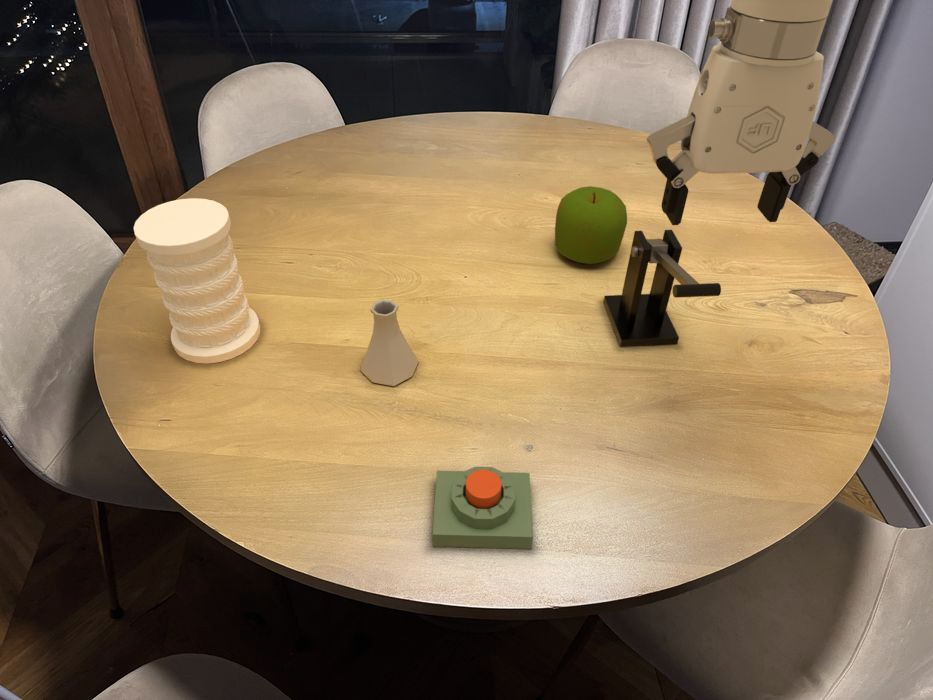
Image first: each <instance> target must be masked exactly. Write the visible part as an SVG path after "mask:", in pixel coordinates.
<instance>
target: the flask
mask: <svg viewBox="0 0 933 700" xmlns="http://www.w3.org/2000/svg"><path fill="white" fill-rule="evenodd" d="M398 310H399V304H397V303H396V302H395V301H393V300H391V299H384V298H381V299H380V300H377V301H375V302H374V303H372V305H371V307H370V309H369V311H370V313H371V314H372V315H373V328H372V334H371V336H370V337H371V338H370V340H369V344H368V346H367V349H366V353H365V355H364V358H363V361H362V364H361V366H360V369H359V370H360V371H361V373H362V374H364V376H366V378H367V379H368V380H369V381H370V382H372V383H375V384H381V385H386V386H391V387H395V386H397V385H399V384H400V383H402V382H404V381H406V380H409V379H411V378H412V377H413V376H414V374H415V371H416V369H417V368H418V367H417V366H418V364H419V362H420V361H419V359H418V358H417V356H416V354H415V353H414V351H413V350H412V348H411V346H410V345H409V343H408V341H407V339H406V337H405V336H404V334H403V332H402V330H401V327H400V325H399V322H398V317H397V316H398V315H397V312H398Z"/></svg>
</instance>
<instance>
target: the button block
mask: <svg viewBox="0 0 933 700" xmlns="http://www.w3.org/2000/svg"><path fill="white" fill-rule="evenodd" d="M477 470H489V471H492V472H494V473H495V474H497V475H498V476H499V478H500V480H501V484H502V485H501V497H500V500H499V501H498V503H497V504H496V505H494V506H492V507H490V508H477V507H475V506H473V505H472V504H470V503H469V501H468V500H467V498H466V480H467V478H468V476H469V475H470V474H471V473H473V472H475V471H477ZM434 492H435V493H434V495H435V496H434V506H433V508H434V509H433V520H432V547H443V548H479V549H480V548H481V549H482V548H483V549H515V550H516V549H518V550H519V549H522V550H524V549H525V550H531V549H532V548H533V547H532V546H533V541H534V533H533V532H534V530H533V517H532V516H533V512H532V497H531V496H532V495H531V480H530V472H515V471H513V472H510V471H508V472H507V471H501V470H499V469H497V468H495V467H493V466H473V467H471V468H469V469H466V470H436V479H435V491H434Z"/></svg>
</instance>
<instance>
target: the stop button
mask: <svg viewBox="0 0 933 700" xmlns="http://www.w3.org/2000/svg"><path fill="white" fill-rule="evenodd" d="M501 485H502V484H501V480H500V478H499V476H498V475H497V474H495V473H494V472H492V471H489V470H477V471H475V472H473V473H471V474H470V475H469V476H468V478H467V480H466V498H467V500H468V501H469V503H470V504H472V505H473V506H475V507H477V508H490V507H492V506H494V505H496V504H497V503H498V501H499V500H500V497H501Z"/></svg>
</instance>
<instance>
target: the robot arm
mask: <svg viewBox="0 0 933 700" xmlns="http://www.w3.org/2000/svg"><path fill="white" fill-rule="evenodd" d="M833 1H834V0H730V5H729V7H726V11H725V15H724V16H723V17H721V18H720V19H711V21H710V23H709V26H708V36H709V38H717V39H718V40H719V42H720V44H716V45H715V44H714V45H713V46H712V48H711V51H710V52H709V55H708V57H707V60H706V62H705V64H704V67H703V68H702V71H701V74H700V76H699V79H698V81H697V83H696V87H695V90H694V93H693V95H692V98H691V101H690V104H689V108H688V111H687V115H686V116H685V117H684V118H681V119H680V120H677V121H676V122H675V121H674V122H673V123H671V124H669V125H667V126H665V127H663V128H661V129H659V130H657V131H655V132H653V133H651V134H649V135H648V136H647V138H646V143H647V146H648V148H649V151H650V155H651V157H652V161H653V163H654V164H655V166H656V167H657V169H658V170H659V171H660V172H661V174H662V175H663V176H664V178H666V182H665V186H664V191H663V196H662V200H661V211H662V213H663V214H665V215H666V217H667V218H668V220H669V222H670V224H671V225H672V226H679V225H680V224H681V223H682V219H683V215H684V212H685V207H686V203H687V200H688V195H689V187H688V186H687V185H686V183H688V182H689V181H690V180H691V179H692V178H693V177H695V176H696V175H697V174H698V173H699V172H701V173H704V174H713V175H714V174H717V175H719V174H721V175H722V174H755V173H756V174H759V173H767V175H766V178H765V181H764V184H763V187H762V190H761V193H760V196H759V199H758V201H757V209H758V211H759V212H760V213H761V215H763V217H764V218H765V220H766V221H767V222H769V223H777V221H778V219H779V216H780V213H781V211H782V210H783V209H784V208H785V204H786V202H787V199H788V196H789V193H790V190H791V189H792V188H791V187H792V186H794V185H796V184H798V183H799V182H800V180H801V176H802V175H805V174H806V173H807V172H808V171H809V170H810V169H812V168H813V167H815V166H816V165H817V164H818V163H819V161H820V157H822V156H823V155H824V154H825V153H826V152H827V151H828V149H829V148H830V147H831V146H832V145H833V144H834V143H835V141H836V136H835V135H834V134H833V133H832V132H831V131H829V130H828V129H826V127H824V126H822V125H820V124H818V123H817V122H815V121H814V119H815V115H816V112H817V111H816V110H817V106H818V103H819V102H818V101H819V98H820V92H821V85H822V79H823V70H824V60H825V57H824V55H823V54H822V53H820V52H818V51H817V49H818V46H819V43H820V40H821V37H822V34H823V31H824V28H825V26H826V22H827V19H828V16H829V13H830V12H831V11H830V10H831V7H832V4H833ZM809 139H810V140H809ZM808 140H809V142H808ZM679 141H680V149H681V151H680V152H679V153H678V154H677V155H676V156H674V157H673V158H672V159H670V157H669V154H668V148H669V147H670V146H671V145H674V144H676V143H678V142H679Z"/></svg>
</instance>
